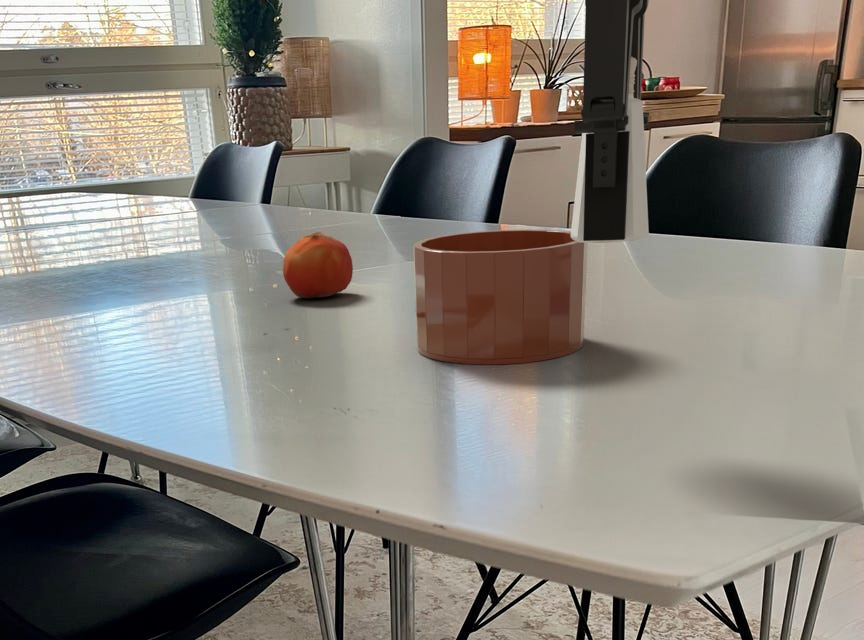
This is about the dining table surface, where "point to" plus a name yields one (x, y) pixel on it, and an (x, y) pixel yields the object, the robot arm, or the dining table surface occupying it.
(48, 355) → the dining table surface
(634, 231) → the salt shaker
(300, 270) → the tomato
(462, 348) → the crock
